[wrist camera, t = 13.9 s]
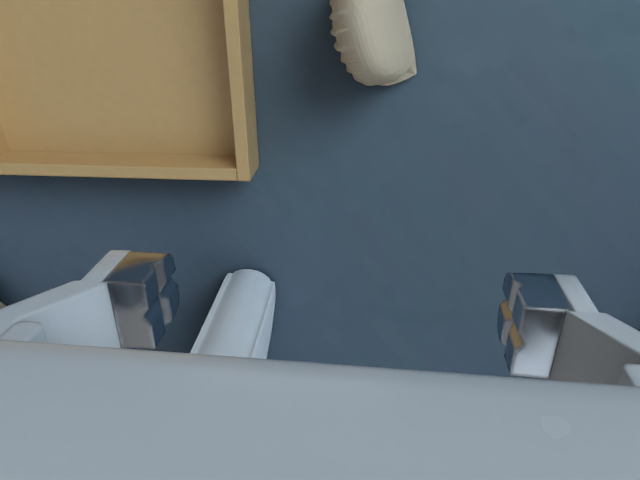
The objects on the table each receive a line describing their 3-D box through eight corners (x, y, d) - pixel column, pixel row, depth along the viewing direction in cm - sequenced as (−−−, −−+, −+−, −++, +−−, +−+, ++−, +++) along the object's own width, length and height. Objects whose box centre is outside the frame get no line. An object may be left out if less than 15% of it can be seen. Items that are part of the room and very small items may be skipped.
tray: (242, -99, 28) (229, -105, 25) (259, 166, 35) (250, 181, 32) (-71, -93, 29) (-112, -98, 27) (3, 160, 36) (-24, 174, 34)
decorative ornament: (349, 93, 32) (345, 115, 27) (313, -61, 28) (301, -67, 24) (416, 76, 31) (424, 96, 26) (388, -85, 28) (391, -95, 23)
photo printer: (264, 379, 43) (227, 521, 32) (212, 368, 43) (157, 506, 32) (283, 273, 38) (247, 396, 27) (225, 261, 38) (165, 380, 27)
